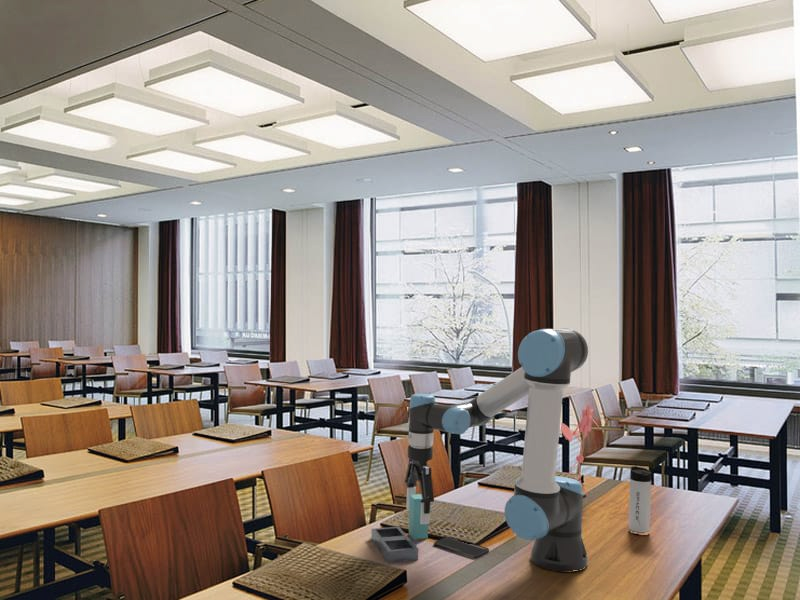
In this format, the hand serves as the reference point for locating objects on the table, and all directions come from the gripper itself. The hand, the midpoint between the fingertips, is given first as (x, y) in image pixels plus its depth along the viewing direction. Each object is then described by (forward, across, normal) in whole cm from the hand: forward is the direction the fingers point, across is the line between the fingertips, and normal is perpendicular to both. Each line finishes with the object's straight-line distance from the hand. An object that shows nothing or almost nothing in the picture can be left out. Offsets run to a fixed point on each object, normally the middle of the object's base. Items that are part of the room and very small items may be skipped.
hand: (417, 515), depth 201 cm
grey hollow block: (+6, +8, -10) cm, 14 cm away
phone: (+6, +12, +9) cm, 17 cm away
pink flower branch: (+6, -21, +71) cm, 74 cm away
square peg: (+6, 0, 0) cm, 6 cm away
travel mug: (+6, +12, +69) cm, 71 cm away
